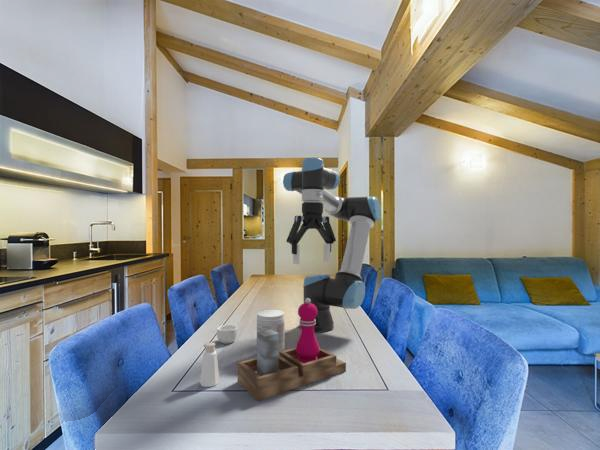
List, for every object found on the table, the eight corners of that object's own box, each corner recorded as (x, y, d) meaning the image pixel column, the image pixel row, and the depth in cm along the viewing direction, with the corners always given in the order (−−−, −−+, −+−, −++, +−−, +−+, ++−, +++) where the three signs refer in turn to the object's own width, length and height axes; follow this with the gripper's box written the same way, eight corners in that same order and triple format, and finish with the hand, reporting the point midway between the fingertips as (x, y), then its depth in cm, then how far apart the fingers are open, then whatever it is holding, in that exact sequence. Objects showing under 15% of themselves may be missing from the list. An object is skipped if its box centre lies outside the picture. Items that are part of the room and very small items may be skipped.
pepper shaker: (212, 376, 96) (212, 339, 96) (223, 382, 92) (223, 343, 92) (195, 383, 92) (196, 344, 92) (207, 389, 88) (207, 348, 88)
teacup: (233, 346, 120) (233, 331, 120) (213, 344, 122) (213, 330, 122) (241, 337, 130) (241, 323, 130) (223, 335, 131) (223, 322, 131)
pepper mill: (294, 359, 102) (295, 295, 103) (317, 358, 103) (317, 295, 103) (296, 369, 95) (296, 300, 95) (321, 368, 96) (321, 300, 96)
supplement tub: (278, 348, 118) (278, 308, 118) (289, 358, 109) (289, 314, 110) (252, 353, 114) (253, 310, 114) (261, 363, 105) (262, 317, 105)
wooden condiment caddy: (320, 357, 110) (320, 314, 110) (345, 370, 100) (346, 323, 100) (237, 381, 92) (237, 330, 93) (258, 401, 82) (258, 343, 82)
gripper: (289, 199, 104) (288, 265, 104) (345, 203, 119) (345, 261, 119) (276, 201, 110) (276, 263, 110) (331, 204, 125) (331, 259, 125)
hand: (312, 262), depth 114 cm, fingers open, 13 cm apart
